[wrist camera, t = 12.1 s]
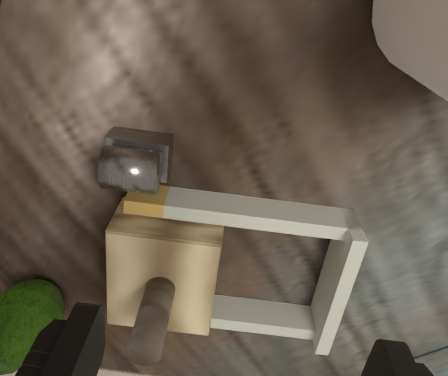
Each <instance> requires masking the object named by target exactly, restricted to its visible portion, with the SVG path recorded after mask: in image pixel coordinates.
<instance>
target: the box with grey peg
mask: <svg viewBox="0 0 448 376" xmlns="http://www.w3.org/2000/svg"><path fill="white" fill-rule="evenodd" d="M124 199H125V197H123V198H122V200H121V202H120V203H119V205H118V207H117V209H116V211H115V213H114V215H113V217H112V219H111V221H110V223H109V225H108V227H107V229H106V230H105V233H106V275H107V322H108V324H114V325H122V326H131V327H133V330H132V333H131V336H130V340H129V343H128V346H127V350H126V354H127V356H128V358H129V359H130V360H131V361H133V362H134V363H137V364H140V365H153V364H155V363H157V362H158V361H159V360H160V359H161V356H162V351H163V346H164V342H165V337H166V332H167V331H173V332H181V333H190V334H198V335H207V336H208V334H209V333H210V324H211V313H212V306H213V300H214V293H215V286H216V279H217V272H218V265H219V258H220V252H221V251H222V244H223V230H224V226H222V225H214V224H206V223H198V222H190V221H182V220H173V219H165V218H157V217H149V216H141V215H133V214H125V213H123V212H124Z"/></svg>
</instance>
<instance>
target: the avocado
mask: <svg viewBox="0 0 448 376" xmlns="http://www.w3.org/2000/svg"><path fill="white" fill-rule="evenodd" d="M64 310H65V302H64V298H63V296H62V293H61V291H60V289H59V288H58V287H57V286H55V285H54V284H52V283H51V282H49V281H46V280H42V279H32V280H25V281H22V282H19V283H17V284H14V285H13V286H11V287H9V288H8V289H7V290H6V291H5V292H3V293H2V294H1V295H0V375H3V374H9V373H13V372H15V371H17V370H18V369H19V368H20V367H21V366H22V362H23V360H24V359H25V357H26V355H27V353H29V351H30V348H31V346H32V344H33V342H34V341H35V339H36V337H37V335H38V333H39V332H40V331H41V330H42V329H44V328H45V327H46V326H47V325H48V324H49V323H50V322H51V321H53V320H54V319H59V320H63V317H64Z"/></svg>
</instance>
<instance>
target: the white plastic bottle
mask: <svg viewBox="0 0 448 376" xmlns="http://www.w3.org/2000/svg"><path fill="white" fill-rule="evenodd" d="M372 26H373V30H374V34H375V37H376V41H377V45H378V46H379V48H380V49H381V51H382V52H383V54H384V55H385V57H386V58H387V59H388V61H389V62H390V63H391V64H393V65H394V66H396V67H397V68H399V69H400V70H402V71H403V72H405V73H406V74H408V75H409V76H411V77H412V78H414V79H415V80H417V81H418V82H420V83H421V84H423V85H424V86H425V87H427V88H428V89H430V90H431V91H433V92H434V93H436V94H437V95H439V96H440V97H442V98H443V99H445V100H446V101H448V0H373V10H372Z"/></svg>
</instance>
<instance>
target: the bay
mask: <svg viewBox="0 0 448 376" xmlns="http://www.w3.org/2000/svg"><path fill="white" fill-rule="evenodd" d="M123 213H125V214H133V215H141V216H149V217H157V218H165V219H173V220H182V221H190V222H198V223H206V224H214V225H222V226H230V227H238V228H246V229H254V230H262V231H270V232H278V233H286V234H294V235H302V236H310V237H318V238H326V239H331V240H330V243H329V246H328V250H327V253H326V256H325V260H324V263H323V266H322V270H321V273H320V276H319V280H318V283H317V286H316V290H315V293H314V296H313V300H312V303H311V306H308V305H300V304H291V303H283V302H275V301H267V300H258V299H250V298H242V297H233V296H225V295H217V294H214V300H213V306H212V313H211V324H210V328H218V329H227V330H235V331H243V332H252V333H260V334H269V335H277V336H285V337H294V338H302V339H311V340H313V344H314V350H315V354H321V355H328V354H329V352H330V349H331V346H332V343H333V340H334V338H335V335H336V332H337V329H338V326H339V324H340V321H341V318H342V315H343V312H344V310H345V307H346V304H347V301H348V298H349V296H350V293H351V290H352V287H353V285H354V282H355V279H356V276H357V273H358V271H359V268H360V265H361V262H362V259H363V257H364V254H365V251H366V248H367V245H368V243H369V242H368V240H367V238H366V235H365V233H364V231H363V229H362V227H361V224H360V222H359V220H358V218H357V215H356V213H355V211H354V209H346V208H338V207H330V206H322V205H314V204H306V203H298V202H290V201H283V200H275V199H267V198H259V197H251V196H243V195H235V194H227V193H219V192H211V191H203V190H195V189H187V188H179V187H171V186H163V185H160V187H159V191H158V193H157V195H151V194H143V193H135V192H128V193H127V195H126V197H125V199H124V212H123Z"/></svg>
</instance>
